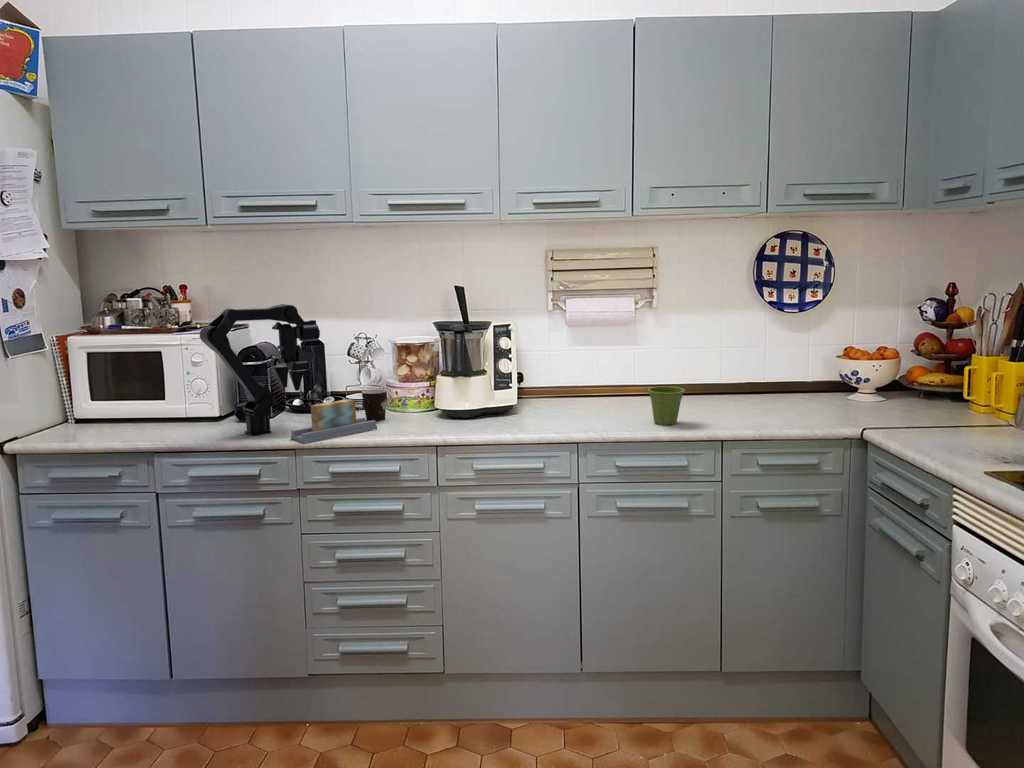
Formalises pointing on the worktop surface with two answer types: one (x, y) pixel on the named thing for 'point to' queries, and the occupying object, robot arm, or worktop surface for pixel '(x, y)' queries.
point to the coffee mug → (374, 404)
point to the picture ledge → (332, 431)
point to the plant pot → (665, 404)
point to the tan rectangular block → (333, 414)
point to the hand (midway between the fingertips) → (291, 389)
